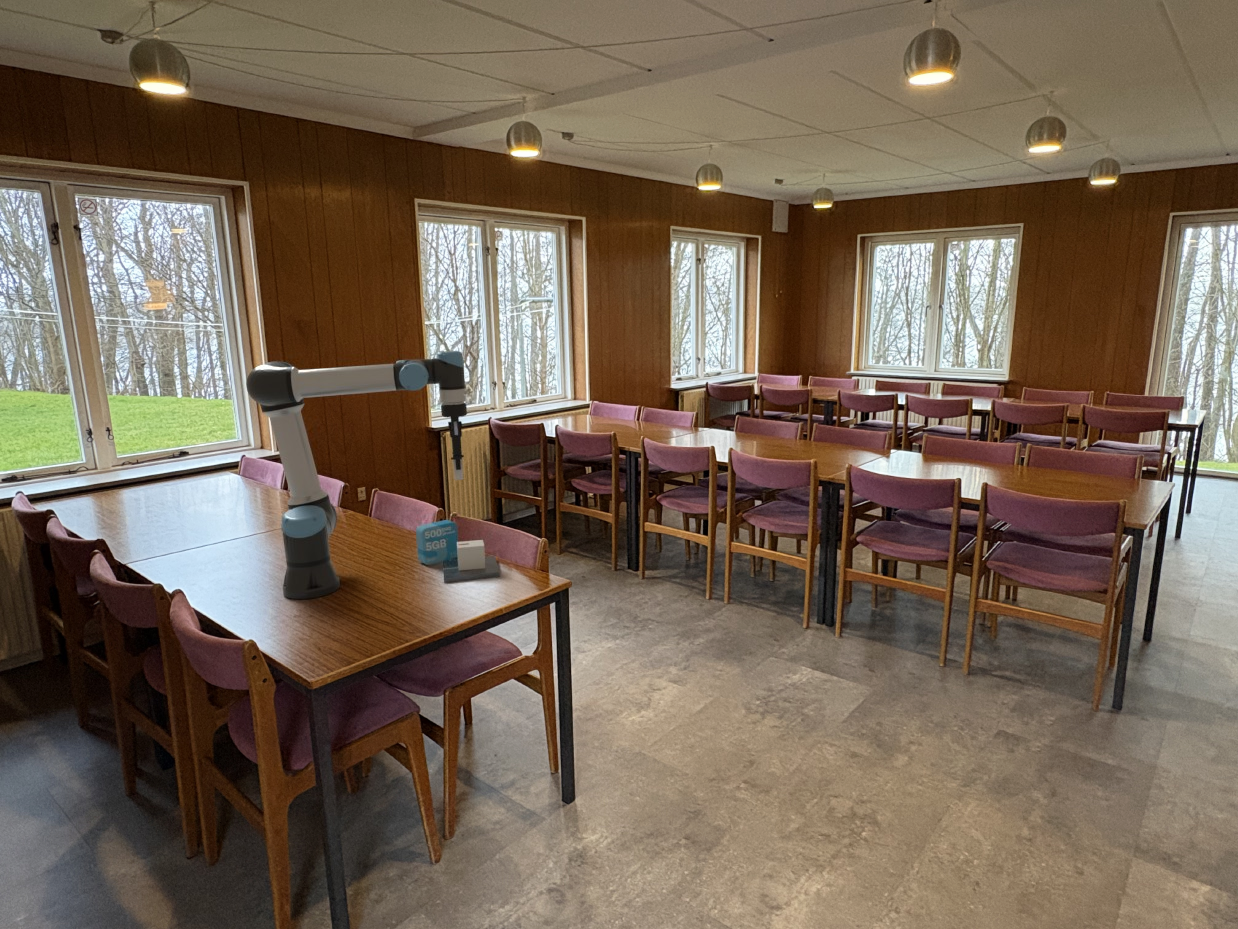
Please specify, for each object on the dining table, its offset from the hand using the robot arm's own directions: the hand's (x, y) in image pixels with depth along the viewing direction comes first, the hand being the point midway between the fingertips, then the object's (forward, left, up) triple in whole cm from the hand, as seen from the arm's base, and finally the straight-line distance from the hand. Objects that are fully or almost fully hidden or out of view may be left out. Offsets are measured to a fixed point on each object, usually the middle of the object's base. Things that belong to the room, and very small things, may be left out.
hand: (459, 479), depth 237 cm
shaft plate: (-8, -6, -26) cm, 28 cm away
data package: (-1, +9, -27) cm, 28 cm away
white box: (-8, -6, -25) cm, 27 cm away
